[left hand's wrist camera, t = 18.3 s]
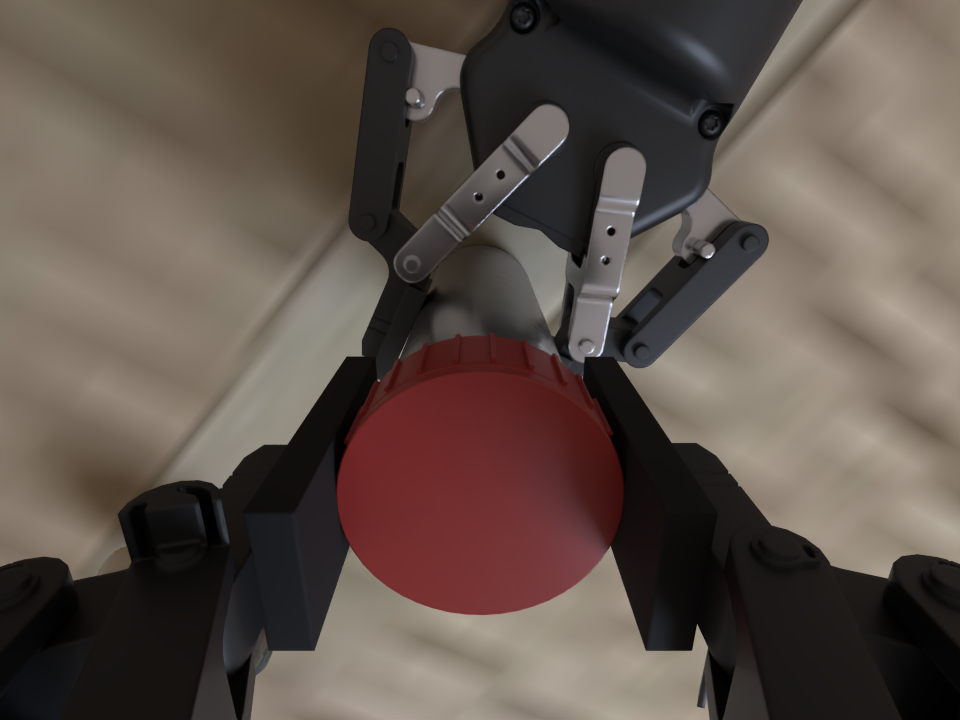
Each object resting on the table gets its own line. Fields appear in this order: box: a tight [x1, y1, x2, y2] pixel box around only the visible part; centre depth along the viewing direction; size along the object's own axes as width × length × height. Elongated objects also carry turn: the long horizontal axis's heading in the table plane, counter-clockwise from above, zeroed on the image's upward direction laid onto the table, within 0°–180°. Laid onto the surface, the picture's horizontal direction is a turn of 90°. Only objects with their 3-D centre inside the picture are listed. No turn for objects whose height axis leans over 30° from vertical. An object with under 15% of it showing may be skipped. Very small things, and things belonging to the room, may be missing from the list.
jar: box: [400, 245, 562, 363], centre depth 18 cm, size 5×5×16 cm
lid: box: [336, 333, 625, 615], centre depth 11 cm, size 6×6×2 cm
